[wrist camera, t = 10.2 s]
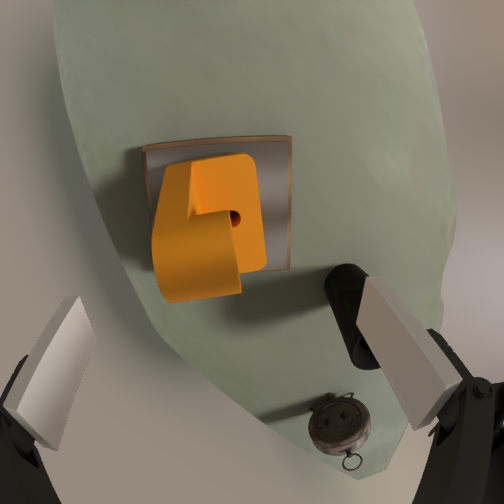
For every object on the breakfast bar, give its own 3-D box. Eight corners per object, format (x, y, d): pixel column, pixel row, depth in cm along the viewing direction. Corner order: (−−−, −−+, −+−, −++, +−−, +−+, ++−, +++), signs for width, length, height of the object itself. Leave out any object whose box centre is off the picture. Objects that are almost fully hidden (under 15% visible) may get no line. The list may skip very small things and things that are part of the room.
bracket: (263, 256, 29) (288, 334, 18) (193, 267, 29) (181, 350, 18) (250, 150, 24) (274, 168, 14) (171, 163, 24) (132, 192, 13)
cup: (370, 249, 34) (423, 302, 23) (369, 298, 37) (411, 355, 26) (313, 264, 34) (352, 327, 23) (318, 312, 37) (349, 379, 26)
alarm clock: (305, 413, 48) (324, 483, 33) (299, 401, 46) (320, 477, 31) (357, 394, 47) (386, 460, 33) (356, 380, 45) (388, 451, 30)
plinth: (148, 144, 26) (140, 146, 23) (285, 135, 27) (293, 136, 24) (164, 267, 32) (159, 281, 29) (285, 259, 33) (290, 272, 30)
